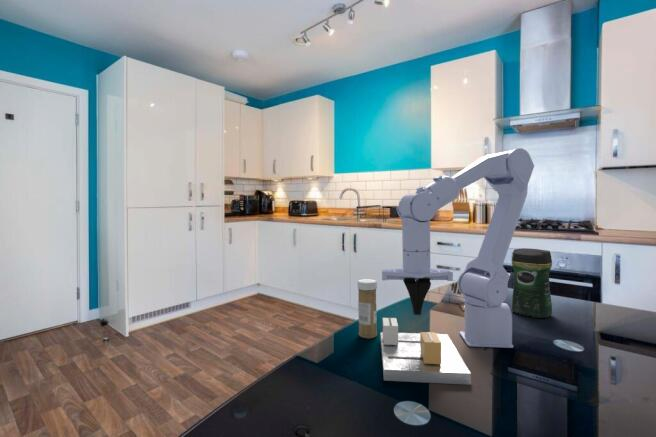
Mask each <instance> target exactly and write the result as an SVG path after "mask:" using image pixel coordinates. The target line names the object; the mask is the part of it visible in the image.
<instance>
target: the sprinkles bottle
mask: <svg viewBox="0 0 656 437" xmlns="http://www.w3.org/2000/svg"><path fill="white" fill-rule="evenodd" d="M377 287H378V282H377V280H375V279H372V278H362V279H359V280H357V289H358V301H357V303H358V304H357V305H358V306H357V308H358V315H357V316H358V336H359V337H360V338H363V339H373V338H377V336H378V331H377V329H378V328H377V320H378V319H377V318H378V317H377V314H378V313H377V311H378V310H377V289H378V288H377Z"/></svg>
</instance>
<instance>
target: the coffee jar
mask: <svg viewBox="0 0 656 437" xmlns="http://www.w3.org/2000/svg"><path fill="white" fill-rule="evenodd" d="M511 266H512V268H513V285H512V286H513V288H512V296H511V312H514V313H515V314H518V313H519V314H518V315H521V314H522V315H521V316H525V315H526V316H525V317H529V316H531V317H530V318H535V319H536V318H537V319H542V318H546V319H547V318H550V317H551V315H552V314H553V305H552V297H551V290H550V289H551V287H550V271H551V269H552V266H553V259H552V253H551V252H550V250H545V249H538V248H530V247H529V248H525V247H524V248H521V247H520V248H516V249H514V250H513V252H512V255H511Z"/></svg>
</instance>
